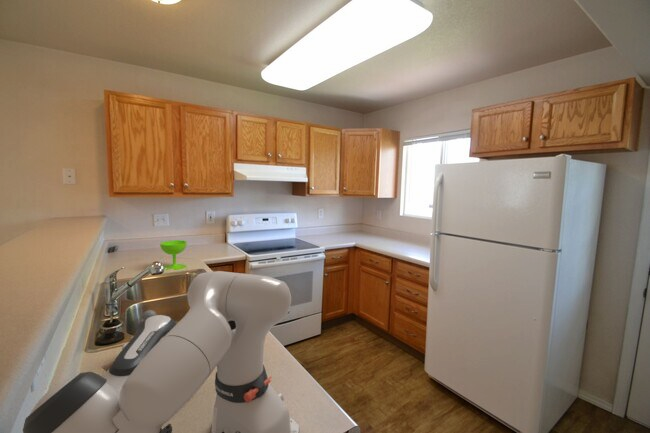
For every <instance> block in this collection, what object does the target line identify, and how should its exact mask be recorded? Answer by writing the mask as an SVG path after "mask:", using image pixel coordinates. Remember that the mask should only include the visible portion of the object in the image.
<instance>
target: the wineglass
mask: <svg viewBox="0 0 650 433" xmlns="http://www.w3.org/2000/svg"><path fill="white" fill-rule="evenodd" d="M187 242H188V241H186V240H182V239H181V240H168V241H167V240H166V241H162V242H160V243H159V245H160V248H161V250H162V252H164V253H165V254H167V255H171V256H172V264H169V265H166V266H163V267H164V270H165V268H167V269H166V270H168V269H169V270H170V269H174V270H179V269H183V268H186V267H188V265H186V264H183V263H177V255H178V254H181V253H182V252H183V251H184V250H185V249H186V248H187V245H188V244H187Z"/></svg>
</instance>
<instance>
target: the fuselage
mask: <svg viewBox="0 0 650 433" xmlns="http://www.w3.org/2000/svg"><path fill="white" fill-rule="evenodd" d="M154 315H157V313H156V311H154V310H151V309H148V310H145V311H144V312H143V313H142V314H141V322H142V321H143V320H145V319H146V318H148V317H150V316H154Z"/></svg>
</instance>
